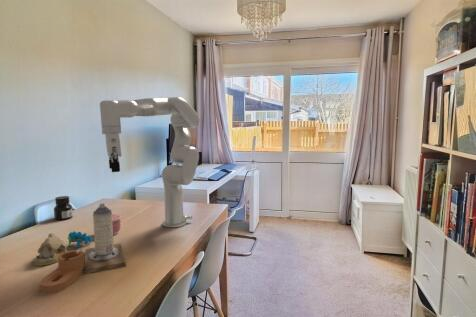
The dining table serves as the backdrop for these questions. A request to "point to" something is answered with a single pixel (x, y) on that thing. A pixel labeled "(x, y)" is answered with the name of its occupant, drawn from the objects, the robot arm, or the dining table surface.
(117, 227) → the container
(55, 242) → the ceramic model
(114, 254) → the flange board
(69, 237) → the gear
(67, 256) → the bracket
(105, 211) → the aerosol can
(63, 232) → the dining table surface
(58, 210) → the ink bottle
